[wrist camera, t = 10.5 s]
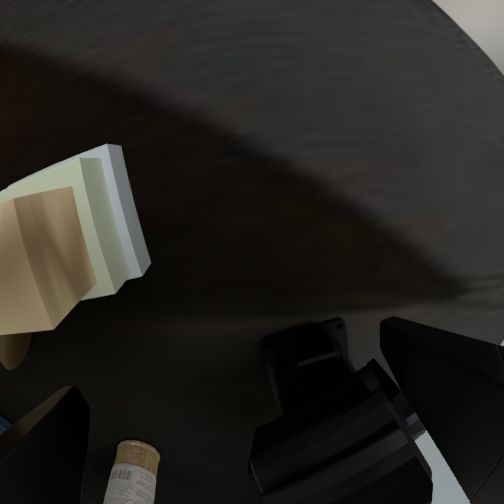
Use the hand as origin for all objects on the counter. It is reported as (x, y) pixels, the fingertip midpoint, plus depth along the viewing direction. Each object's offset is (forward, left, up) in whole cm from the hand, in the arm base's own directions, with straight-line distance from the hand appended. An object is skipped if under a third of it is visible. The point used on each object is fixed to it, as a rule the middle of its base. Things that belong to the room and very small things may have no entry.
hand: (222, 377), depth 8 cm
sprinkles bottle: (-18, +14, -13) cm, 27 cm away
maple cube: (+4, +9, -8) cm, 12 cm away
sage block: (+4, +9, -11) cm, 14 cm away
